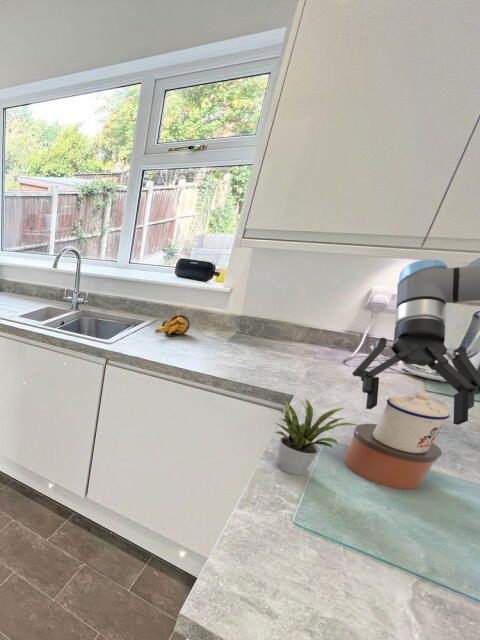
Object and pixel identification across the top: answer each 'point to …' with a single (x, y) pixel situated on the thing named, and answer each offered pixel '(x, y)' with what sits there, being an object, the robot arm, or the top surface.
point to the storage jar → (387, 460)
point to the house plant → (302, 439)
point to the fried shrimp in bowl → (175, 326)
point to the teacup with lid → (410, 422)
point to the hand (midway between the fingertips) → (414, 414)
